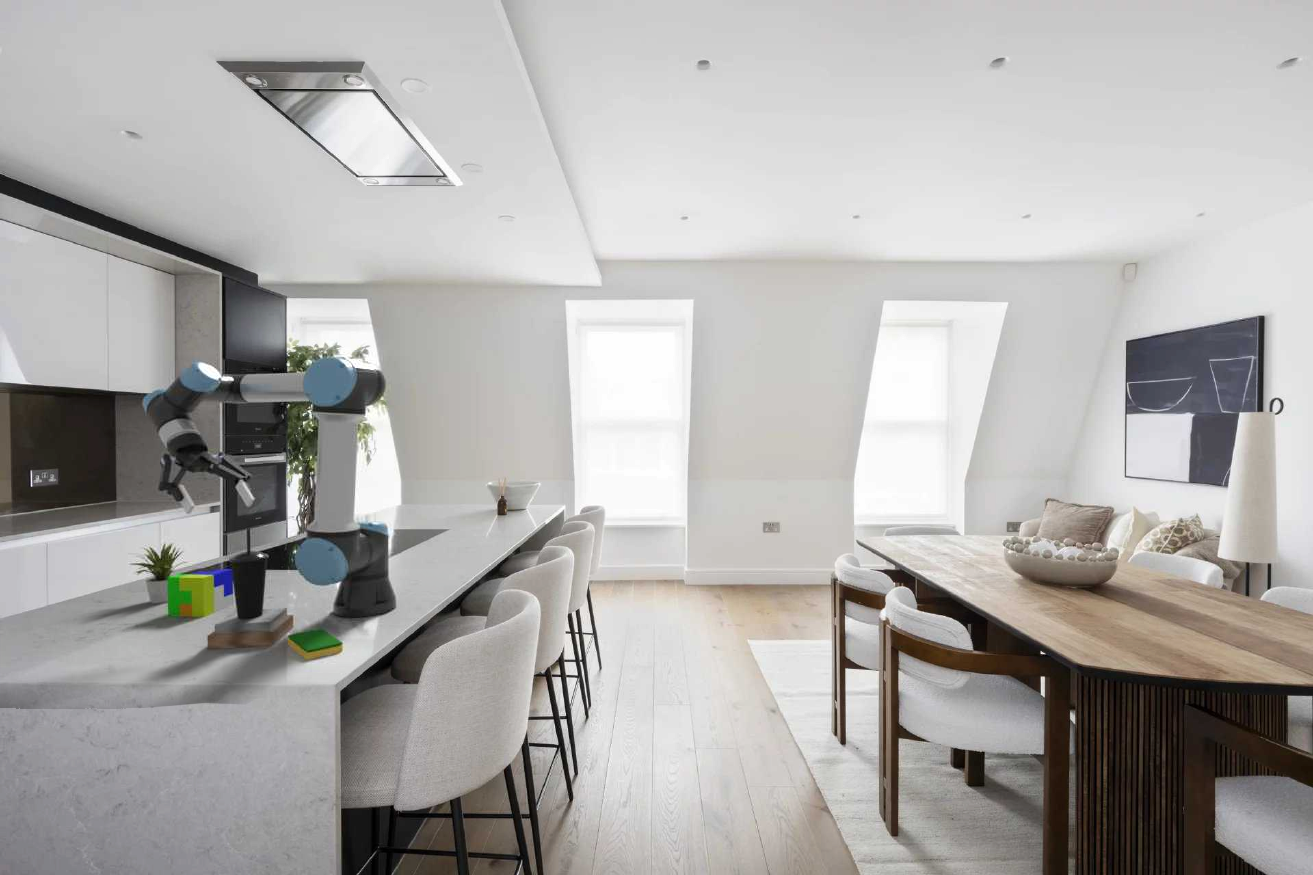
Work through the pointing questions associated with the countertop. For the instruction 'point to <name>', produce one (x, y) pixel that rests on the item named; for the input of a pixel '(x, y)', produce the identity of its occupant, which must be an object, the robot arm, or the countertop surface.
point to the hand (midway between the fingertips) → (222, 506)
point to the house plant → (159, 572)
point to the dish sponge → (315, 643)
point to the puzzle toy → (200, 592)
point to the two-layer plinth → (251, 630)
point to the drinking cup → (249, 581)
